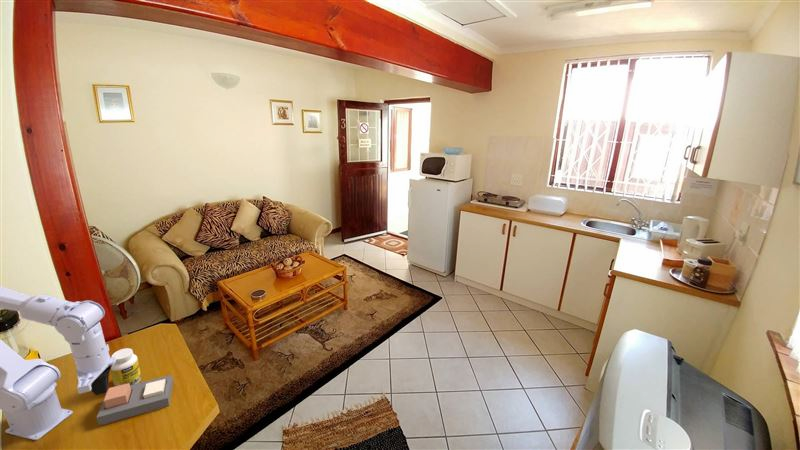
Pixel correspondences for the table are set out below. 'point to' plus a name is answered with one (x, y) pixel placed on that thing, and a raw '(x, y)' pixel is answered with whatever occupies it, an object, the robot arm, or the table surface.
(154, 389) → the key cream
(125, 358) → the pill bottle
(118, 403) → the key terracotta
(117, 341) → the table surface
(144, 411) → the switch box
